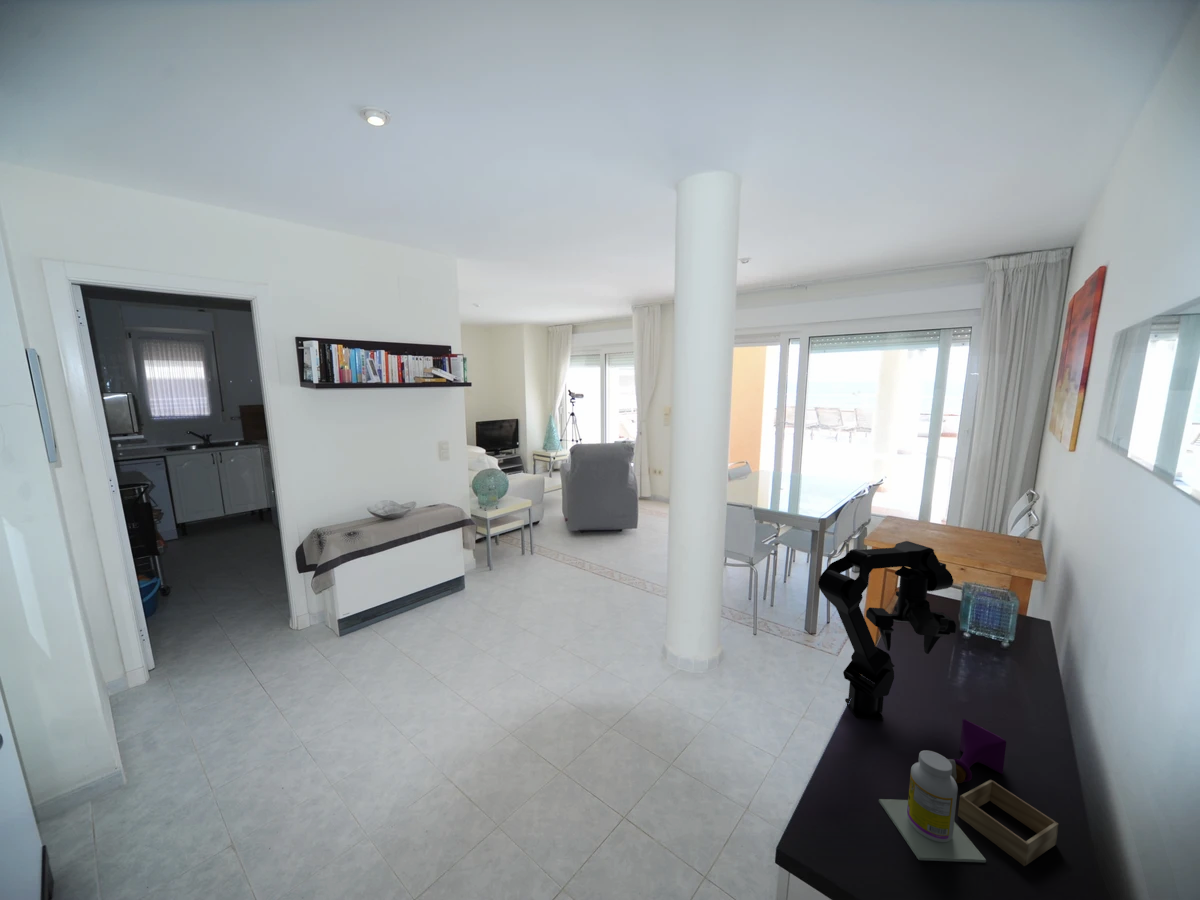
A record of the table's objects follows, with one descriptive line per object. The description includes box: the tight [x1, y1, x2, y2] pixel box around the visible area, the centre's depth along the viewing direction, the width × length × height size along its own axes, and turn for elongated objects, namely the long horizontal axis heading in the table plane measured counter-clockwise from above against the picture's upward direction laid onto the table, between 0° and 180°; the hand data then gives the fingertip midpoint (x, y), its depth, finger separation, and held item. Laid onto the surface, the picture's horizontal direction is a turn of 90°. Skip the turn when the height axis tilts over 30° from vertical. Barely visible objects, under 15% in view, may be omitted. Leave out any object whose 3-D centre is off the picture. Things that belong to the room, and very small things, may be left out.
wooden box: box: [957, 779, 1059, 867], centre depth 80 cm, size 10×10×4 cm
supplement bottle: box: [907, 749, 959, 842], centre depth 79 cm, size 7×7×13 cm
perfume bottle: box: [947, 718, 1007, 784], centre depth 92 cm, size 8×8×18 cm
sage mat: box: [878, 798, 987, 863], centre depth 80 cm, size 11×11×1 cm
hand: (907, 651), depth 114 cm, fingers open, 9 cm apart
